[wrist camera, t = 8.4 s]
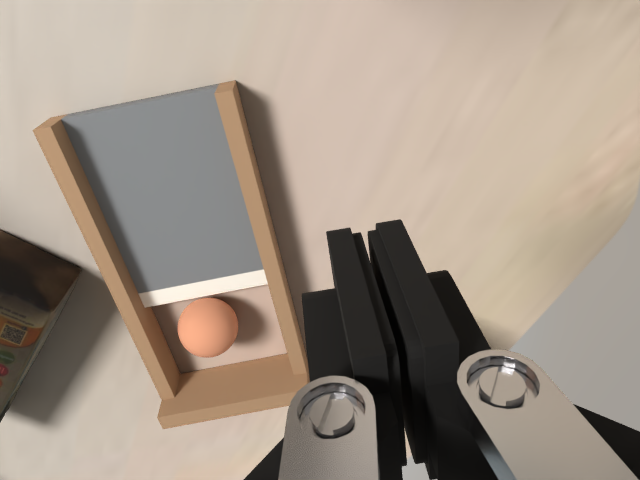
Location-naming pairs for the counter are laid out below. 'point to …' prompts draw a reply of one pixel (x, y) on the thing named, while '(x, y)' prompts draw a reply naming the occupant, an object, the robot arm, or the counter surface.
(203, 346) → the ball
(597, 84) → the counter surface
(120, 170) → the lane
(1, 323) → the beverage carton
